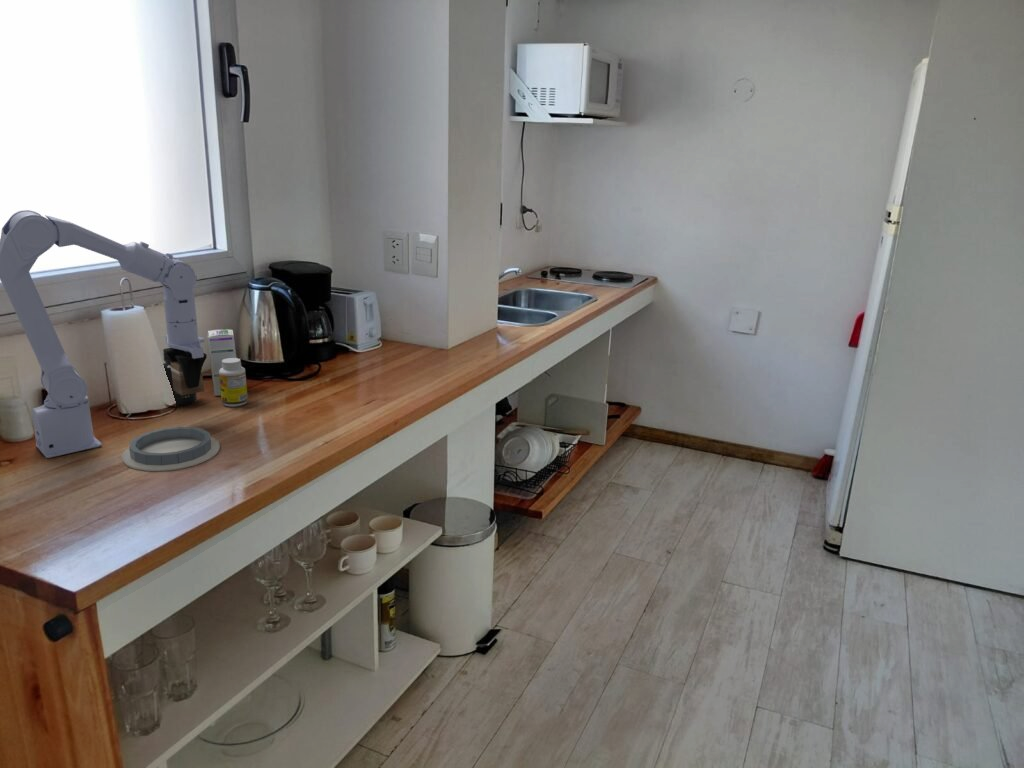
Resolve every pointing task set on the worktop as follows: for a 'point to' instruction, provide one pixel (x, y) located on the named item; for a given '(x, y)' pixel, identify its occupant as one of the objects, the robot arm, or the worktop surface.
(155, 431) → the round tray
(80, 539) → the worktop surface
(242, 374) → the supplement bottle
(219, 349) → the syrup box
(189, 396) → the supplement bottle
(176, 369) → the walnut bead block
